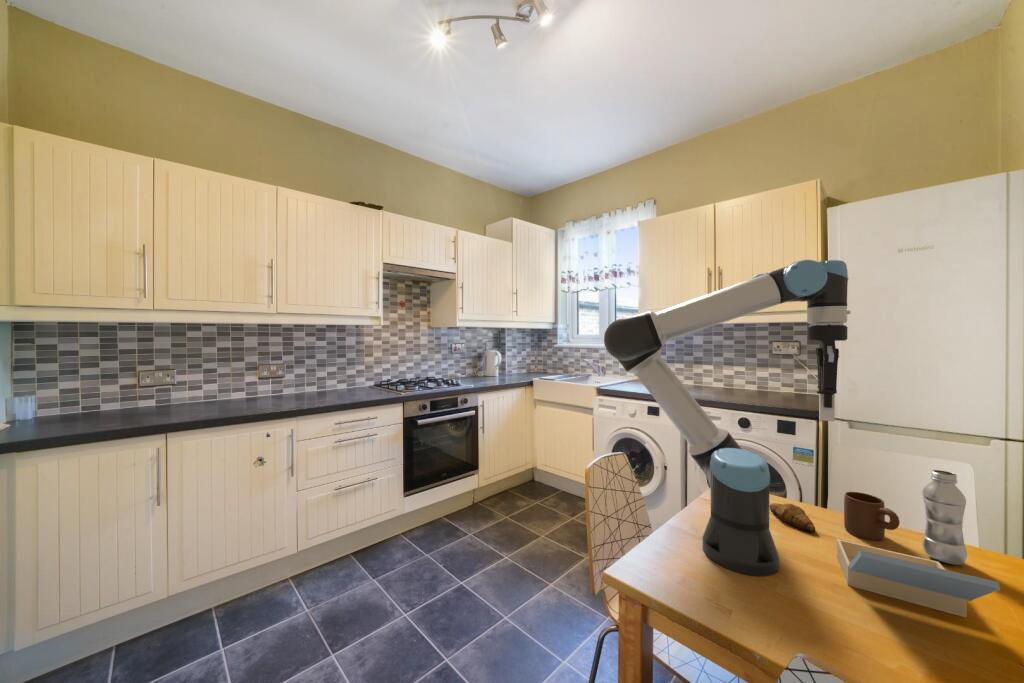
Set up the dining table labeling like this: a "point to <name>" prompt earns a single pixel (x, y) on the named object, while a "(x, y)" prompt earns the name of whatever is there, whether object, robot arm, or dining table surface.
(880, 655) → the dining table surface
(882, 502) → the mug
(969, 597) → the lid
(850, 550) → the base
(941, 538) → the plastic bottle
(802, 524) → the croissant
